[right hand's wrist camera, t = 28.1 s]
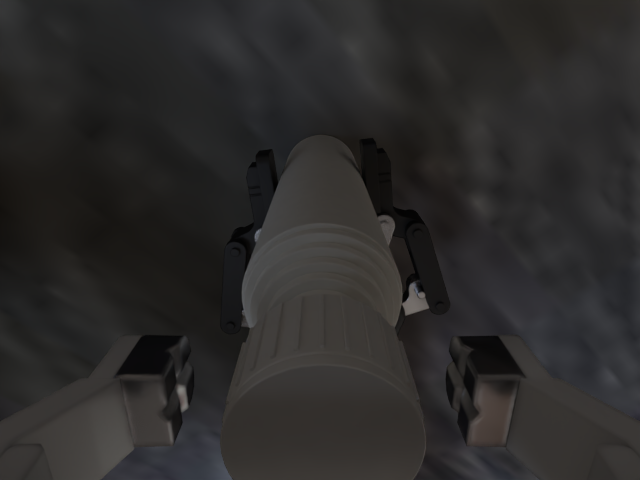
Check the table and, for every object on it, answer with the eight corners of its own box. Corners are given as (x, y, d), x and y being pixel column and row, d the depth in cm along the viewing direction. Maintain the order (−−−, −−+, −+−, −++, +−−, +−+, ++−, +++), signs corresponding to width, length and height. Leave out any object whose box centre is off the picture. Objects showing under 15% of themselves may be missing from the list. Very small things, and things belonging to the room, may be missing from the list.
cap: (439, 355, 10) (474, 440, 8) (329, 450, 11) (332, 549, 9) (313, 256, 9) (311, 320, 7) (207, 370, 10) (174, 457, 8)
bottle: (364, 143, 29) (482, 340, 8) (346, 210, 31) (406, 521, 10) (293, 127, 29) (216, 289, 7) (280, 196, 30) (187, 487, 9)
